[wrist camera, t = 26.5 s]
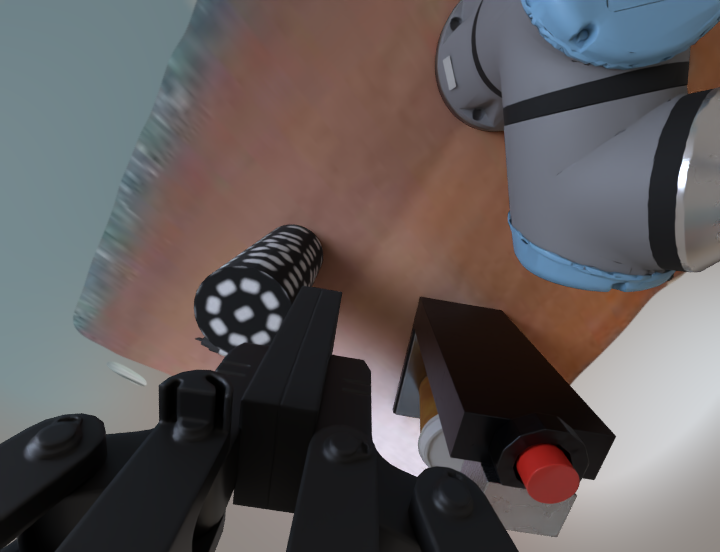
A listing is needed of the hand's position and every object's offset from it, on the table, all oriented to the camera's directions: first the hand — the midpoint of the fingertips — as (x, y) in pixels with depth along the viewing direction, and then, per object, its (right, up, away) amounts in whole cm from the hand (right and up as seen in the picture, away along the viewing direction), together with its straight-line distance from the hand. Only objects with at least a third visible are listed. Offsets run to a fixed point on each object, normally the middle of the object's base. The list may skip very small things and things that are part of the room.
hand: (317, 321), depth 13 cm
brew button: (+15, -12, +13) cm, 23 cm away
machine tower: (+16, -4, +37) cm, 41 cm away
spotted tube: (-8, +5, +35) cm, 36 cm away
